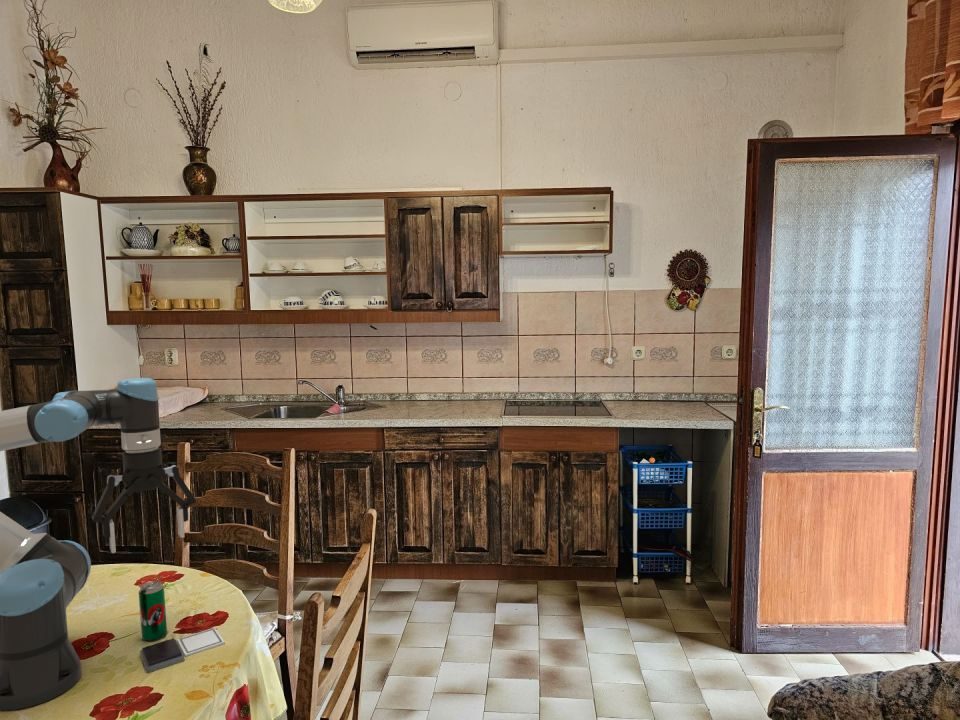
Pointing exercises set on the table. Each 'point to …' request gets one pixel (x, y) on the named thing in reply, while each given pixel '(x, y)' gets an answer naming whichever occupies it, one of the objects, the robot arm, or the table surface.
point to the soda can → (152, 610)
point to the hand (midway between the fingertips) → (148, 543)
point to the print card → (200, 641)
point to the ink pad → (161, 655)
